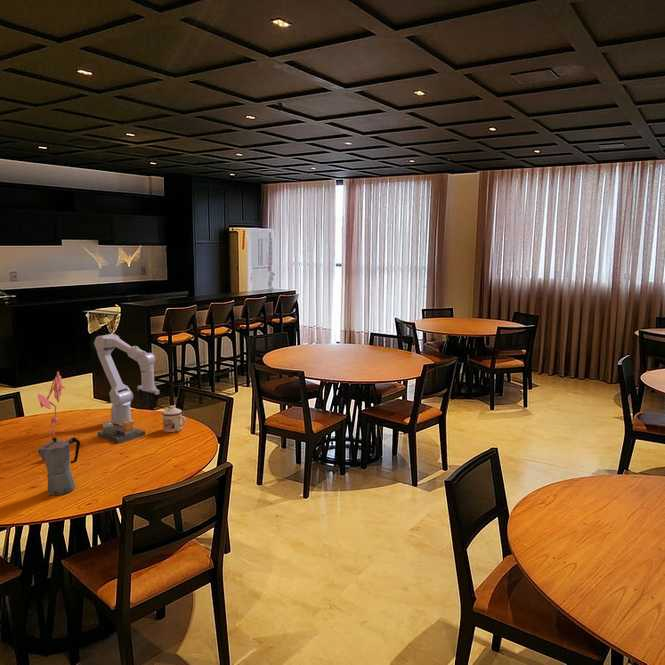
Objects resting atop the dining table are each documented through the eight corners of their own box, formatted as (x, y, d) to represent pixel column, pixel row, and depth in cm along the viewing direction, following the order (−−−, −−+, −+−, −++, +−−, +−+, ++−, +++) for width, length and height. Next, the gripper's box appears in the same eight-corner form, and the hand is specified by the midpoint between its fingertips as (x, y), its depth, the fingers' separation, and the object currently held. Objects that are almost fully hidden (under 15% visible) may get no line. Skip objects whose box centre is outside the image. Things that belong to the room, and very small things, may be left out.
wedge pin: (122, 436, 266) (122, 421, 265) (128, 434, 269) (128, 420, 268) (126, 438, 265) (126, 423, 263) (133, 436, 267) (132, 421, 266)
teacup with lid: (158, 431, 274) (157, 407, 272) (170, 425, 282) (169, 402, 280) (180, 434, 269) (179, 410, 267) (191, 428, 278) (190, 405, 276)
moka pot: (33, 494, 206) (29, 439, 203) (74, 479, 219) (70, 428, 216) (49, 501, 201) (44, 445, 198) (89, 485, 213) (86, 433, 210)
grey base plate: (97, 436, 267) (97, 423, 266) (124, 428, 278) (124, 416, 277) (118, 443, 257) (117, 430, 256) (145, 435, 268) (144, 422, 267)
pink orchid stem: (37, 466, 231) (32, 380, 225) (49, 445, 255) (45, 366, 250) (79, 463, 235) (75, 378, 230) (87, 442, 259) (84, 365, 254)
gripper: (164, 379, 276) (165, 407, 278) (145, 375, 285) (147, 402, 287) (151, 382, 270) (153, 410, 272) (133, 377, 279) (134, 405, 281)
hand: (149, 406), depth 279 cm, fingers open, 7 cm apart
